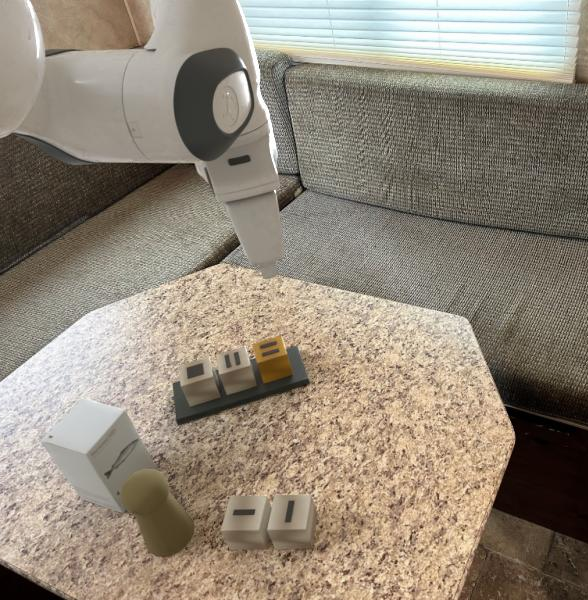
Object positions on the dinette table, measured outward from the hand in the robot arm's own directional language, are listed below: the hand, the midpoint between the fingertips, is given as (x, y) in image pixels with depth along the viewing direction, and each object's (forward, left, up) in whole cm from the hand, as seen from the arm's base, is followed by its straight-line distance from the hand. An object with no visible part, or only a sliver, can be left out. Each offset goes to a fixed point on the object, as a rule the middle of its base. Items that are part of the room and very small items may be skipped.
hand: (262, 253), depth 74 cm
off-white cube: (-20, -6, -27) cm, 34 cm away
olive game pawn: (-25, +3, -27) cm, 37 cm away
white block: (-18, -11, -27) cm, 34 cm away
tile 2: (-1, +11, -26) cm, 28 cm away
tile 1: (-5, +15, -26) cm, 30 cm away
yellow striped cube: (+3, +7, -26) cm, 27 cm away
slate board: (-1, +11, -27) cm, 29 cm away
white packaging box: (-22, +15, -27) cm, 38 cm away
